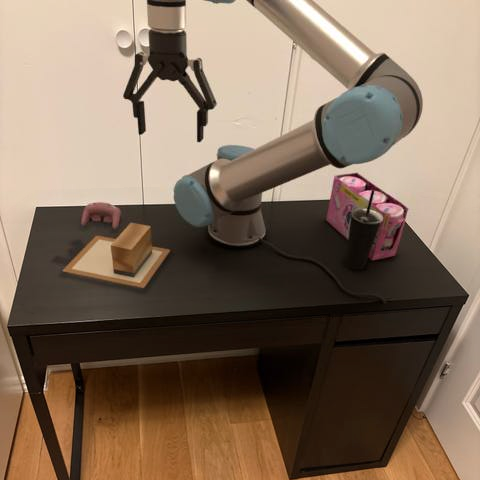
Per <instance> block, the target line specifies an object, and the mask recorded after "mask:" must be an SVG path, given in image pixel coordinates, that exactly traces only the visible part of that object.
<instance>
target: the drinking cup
mask: <svg viewBox="0 0 480 480" xmlns="http://www.w3.org/2000/svg"><path fill="white" fill-rule="evenodd" d="M373 195H374V190H372V191H371V195H370V199H369V203H368V207H367V209H365V208H364V209H363V208H361V209H355V210H353V211H352V212H351V214H350V217H351V222H350V230H349V238H348V239H347V247H346V255H345V266H346V268H348V269H350V270H354V271H361V270H363V269H364V268H365V267H366V264H367V261H368V259H369V258H368V256H369V253H370V251H371V248H372V245H373V243H374V240H375V237H376V235H377V232H378V229H379V227H380V224H381V223H382V222H383V216H382V215H381V214H380V213H378V212H376V211H374V210H371V209H370V208H371V204H372V199H373Z"/></svg>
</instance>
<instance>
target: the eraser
mask: <svg viewBox="0 0 480 480" xmlns="http://www.w3.org/2000/svg"><path fill="white" fill-rule="evenodd" d="M115 239H116V240H115V241H114V242H113V243H112V244H111V253H112V262H113V271H114V274H119V275H124V276H129V277H135V276H136V274H137V273H138V272H139V270H140V269H141V268H142V266H143V265H144V264H145V262H146V261H147V260H148V258H149V257H150V256H151V254H152V246H153V242H152V227H151V225H146V224H140V223H136V222H130V223H129V224H128V225H127V226H126V228H124V229H123V231H122V232H121V233H119V235H118V237H117V238H115Z"/></svg>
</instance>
